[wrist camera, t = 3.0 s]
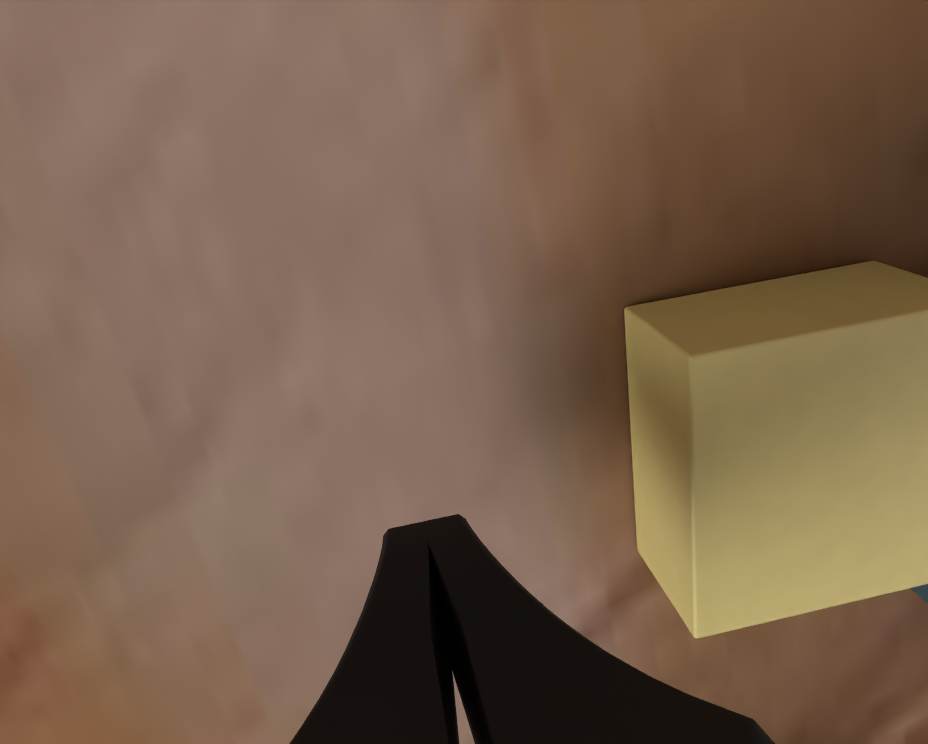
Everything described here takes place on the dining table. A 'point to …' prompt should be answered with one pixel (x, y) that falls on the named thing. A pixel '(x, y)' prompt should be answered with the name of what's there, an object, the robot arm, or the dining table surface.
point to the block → (781, 443)
